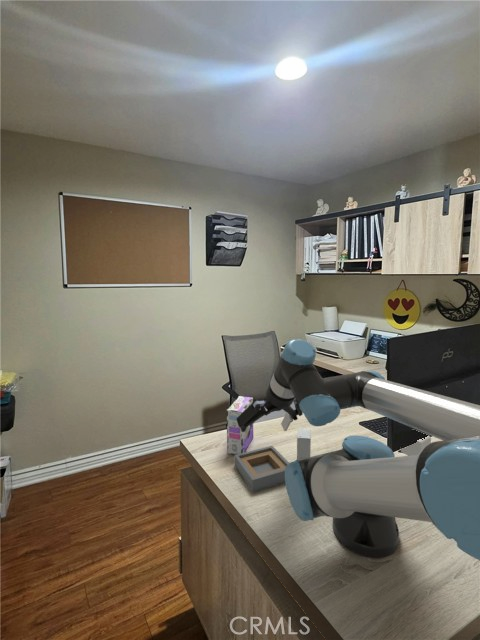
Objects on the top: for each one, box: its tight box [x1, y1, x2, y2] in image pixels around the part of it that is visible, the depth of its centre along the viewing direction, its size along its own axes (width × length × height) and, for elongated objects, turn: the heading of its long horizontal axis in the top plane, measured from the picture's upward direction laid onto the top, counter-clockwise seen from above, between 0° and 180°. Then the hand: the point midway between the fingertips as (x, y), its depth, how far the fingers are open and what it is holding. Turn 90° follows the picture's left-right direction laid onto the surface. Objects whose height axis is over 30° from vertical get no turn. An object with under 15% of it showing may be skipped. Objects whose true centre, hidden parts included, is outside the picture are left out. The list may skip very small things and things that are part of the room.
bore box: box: [234, 445, 290, 493], centre depth 104 cm, size 14×14×4 cm
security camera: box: [400, 435, 432, 456], centre depth 107 cm, size 6×7×10 cm
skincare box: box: [296, 428, 312, 460], centre depth 106 cm, size 6×4×12 cm
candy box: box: [226, 395, 254, 455], centre depth 119 cm, size 14×6×16 cm, turn 161°
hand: (263, 431), depth 100 cm, fingers open, 13 cm apart
